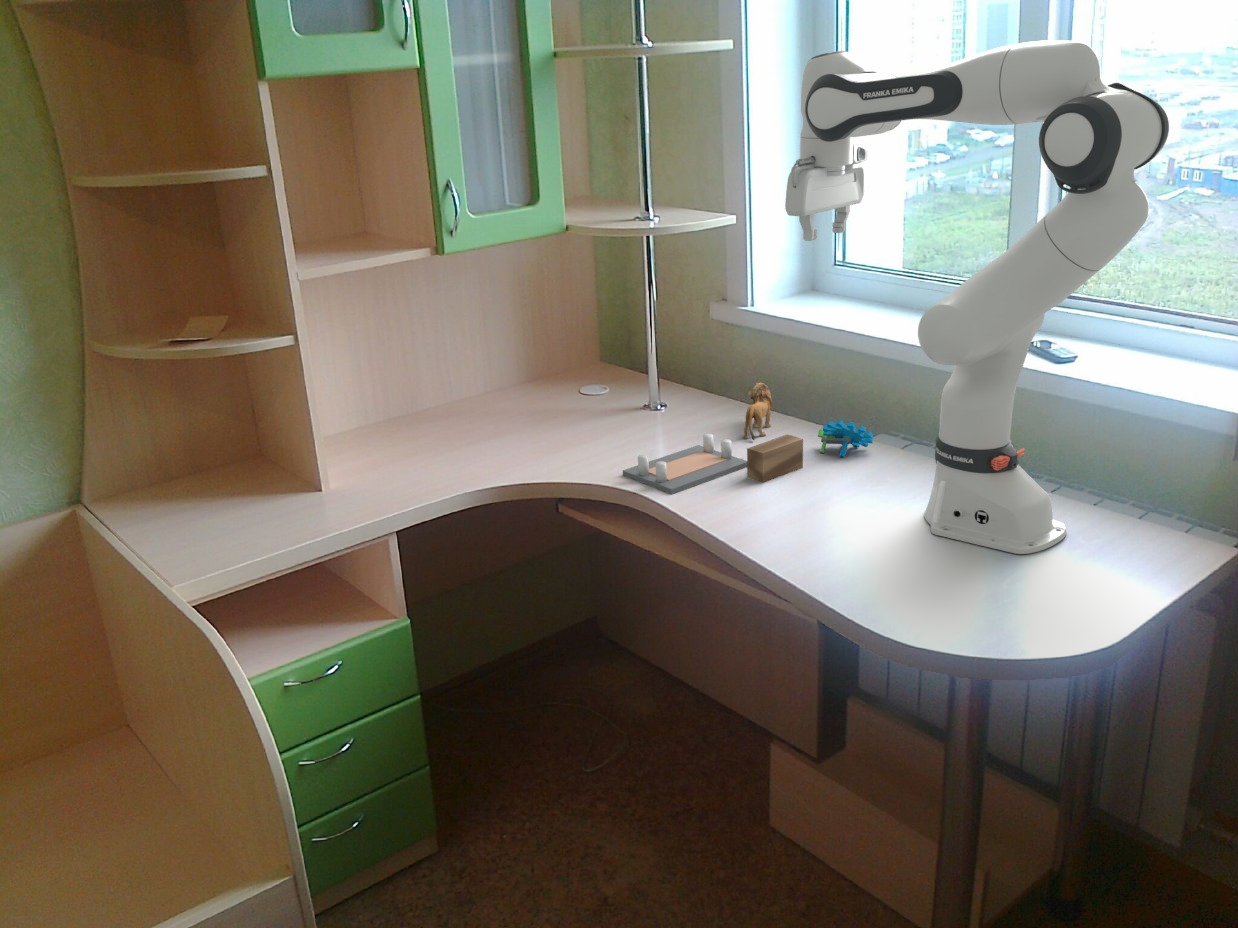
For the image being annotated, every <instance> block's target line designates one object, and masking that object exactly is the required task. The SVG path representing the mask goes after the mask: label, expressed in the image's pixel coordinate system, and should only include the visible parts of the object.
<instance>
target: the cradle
mask: <svg viewBox="0 0 1238 928" xmlns="http://www.w3.org/2000/svg"><path fill="white" fill-rule="evenodd" d="M702 440H703V442H702V443H703V444H702V445H700V444H698V445H693V446H691V447H688V448H685V449H681V450H680V451H677V452H673V453H671V454H667V455H664V456H662V457H659V458H655V459H652V460H650V459H649V457H650V456H649V455H647V454H641V455H638V456H637V465H635V466H632V467H629V468H626V469H623V470H622V476H623V477H626V478H628V479H631V480H634V481H636V482H639V483H642V484H644V485H646V486H649V487H652V488H655V489H658V490H659V491H663V492H666V493H668V494H670V495H674V494H676V493H680V492H683V491H685V490H688V489H690V488H693V487H696V486H698V485H702V484H704V483H706V482H710V481H712V480H715V479H717V478H721V477H723V476H725V475H729V474H731V473H734V472H736V471H739V470H743V469H745V468H747V459H743V458H741V457H740V458H739V457H736V456H732V455H733V454H732V453H733V452H732V440H731V439H729V438H728V439H727V438H726V439H721V441H720V451H718V450H715V449H714V447H715V446H714V434H712V433H704V434H703V435H702Z"/></svg>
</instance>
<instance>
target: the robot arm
mask: <svg viewBox="0 0 1238 928" xmlns="http://www.w3.org/2000/svg"><path fill="white" fill-rule="evenodd" d="M1101 71H1102V69H1101V64H1100V59H1099V57H1098V55H1097V53H1096V52H1095V50H1094V49H1093V48H1092V47H1091V46H1089V44H1086V43H1085V42H1082V41H1077V40H1076V41H1075V40H1061V39H1060V40H1053V39H1052V40H1037V41H1028V42H1027V41H1026V42H1019V43H1013V44H1008V45H1003V46H1000V47H996V48H992V49H990V50H986V51H983V52H979V53H977V54H974V55H971V56H968V57H966V58H963V59H959V60H956V61H954V62H950V63H948V64H945V65H942V66H938V67H935V68H933V69H929V70H926V71H923V72H919V73H916V74H910V75H903V76H896V75H894V74H890V73H886V72H884V71H880V70H877V69H875V68H872V67H870V66H868V65H866V64H864V63H862V62H861V61H859V60H858V59H857V58H856V56H854V54H853V53H851V52H849V51H846V50H845V51H843V50H840V51H837V50H836V51H832V52H825V53H821V54H818V55H816V56H815V55H814V57H811V58H810V59H809V60H807V62H806V64H805V66H804V69H803V74H802V79H801V80H802V81H801V82H802V83H801V92H800V93H801V94H800V112H801V115H802V128H801V131H800V142H799V143H800V145H799V146H800V148H799V152H800V154H799V155H800V156H799V157H800V158H798V159H796V160H795V162H794V164H793V166H792V167H791V170H790V172H789V174H788V177H787V183H786V191H785V204H784V206H785V208H784V209H785V212H786V214H787V215H788V216H790V217H799V219H798V220H799V221H798V222H799V223H800V225H801V229H802V230H803V231H802V232H803V234H802V235H803V238H802V239H803V240H804V241H805V242H806V241H807V242H813V241H815V240H816V239H817V237H818V236H817V234H818V230H817V229H815V226H814V222H813V221H815V214H820V213H823V212H828V211H831V210H835V212H836V215H835V219H834V221H833V222H832V233H834V234H841V233H844V232H845V231H846V222H847V220H848V217H849V215H850V212H851V206H853V205H857V204H860V203H862V200H863V198H864V194H865V187H866V165H865V163H864V162H865V161H867V159H868V149H867V148H866V147H864V146H862V145H860V144H858V143H857V142H856V141H854V138H857V137H864V136H865V137H867V136H873V135H881V134H884V133H886V132H890V131H891V130H893V129H895V128H897V127H898V126H899V125H900V123H901V122H902V121H909V120H932V121H933V120H934V121H935V120H936V121H945V122H955V123H957V122H958V123H967V124H976V125H989V126H1009V125H1011V126H1012V125H1020V124H1021V125H1022V124H1030V123H1038V122H1039V123H1040V122H1042V123H1043V124H1042V125H1041V127H1040V132H1039V136H1038V146H1039V147H1038V148H1039V152H1040V155H1041V157H1042V160H1043V161H1044V163H1045V165H1046V167H1047V168H1048V169H1049V171H1050V172H1051V173H1052V175H1053V177H1054V180H1055V182H1056V184H1057V186H1058V187H1059V189H1060V190H1063V191H1064V192H1067V193H1066V195H1065V196H1064V197H1063V198H1062V199H1061V201H1059V202H1058V203H1057V204H1056V205H1055V206H1054V207H1053V208H1051V210H1050V211H1048V213H1046V214H1045V215H1044V216H1043V217H1042V218H1041V219H1040V220H1039V221H1038V222H1036V223H1035V224H1034V225H1033V226H1032V227H1031V228H1030V229H1029V230H1028V231H1027V232H1025V234H1023V236H1022V237H1020V238H1019V239H1018V240H1017V241H1016V242H1015V243H1014V244H1013V245H1012V246H1011V247H1009V248H1008V249H1007V250H1005V251H1004V252H1002V254H1001V255H999V256H998V257H996V258H995V259H994V260H992V261H991V262H989V263H988V264H986V265H985V266H984V267H982V268H981V269H980V270H978V271H977V272H975V273H974V274H972V275H971V276H970V277H968V279H966V280H965V281H963V282H962V283H961V284H960V285H959V286H958V287H956V288H954V290H952V291H951V292H950V293H949V294H948V295H946V296H945V297H944V298H942V299H940V300H939V301H937V302H936V303H935V304H934V305H932V306H930V307H929V308H928V309H927V310H926V311H925V312H924V313H923V314H922V316H921V318H920V320H919V323H918V327H917V337H918V342H919V345H920V348H921V349H922V351H923V353H924V354H925V356H927V357H928V358H929V360H932V361H933V362H934V363H936V364H938V365H941V366H942V365H943V366H954V369H953V370H952V373H951V375H950V377H949V379H947V381H946V383H945V385H944V387H943V389H942V391H941V396H940V397H941V398H940V415H939V431H938V434H937V436H936V439H935V448H934V449H935V450H934V451H935V452H934V459H935V465H936V466H935V471H934V478H933V479H934V480H933V484H932V488H931V493H930V495H929V496H930V497H929V500H928V503H927V505H926V508H925V510H924V513H923V516H924V519H925V521H926V522H927V524H929V525H930V532H931V533H932V534H933V535H935V536H940V537H944V538H949V539H953V540H957V541H961V542H965V543H969V544H973V545H978V546H982V547H986V548H991V549H995V550H999V551H1002V552H1003V551H1004V552H1007V553H1012V554H1016V555H1025V554H1027V555H1029V554H1034V553H1038V552H1041V551H1045V550H1047V549H1049V548H1051V547H1052V546H1055V545H1056V544H1058V543H1060V542H1061V541H1062V540H1063V539H1064V538H1065V537H1066V535H1067V526H1066V524H1065V523H1063V522H1061V521H1059V520H1056V519H1055V518H1054V517H1053V515H1054V514H1053V506H1052V499H1051V496H1050V495H1049V493H1048V492H1047V491H1046V490H1045V489H1043V488H1042V487H1041V486H1040V484H1039V483H1038V482H1036V481H1035V480H1034V479H1033V478H1032V477H1031V476H1030V475H1029V474H1028V472H1026V471H1025V469H1023V468H1022V467H1021V465H1020V462H1019V459H1018V458H1019V457H1021V456H1023V455H1025V452H1024V451H1025V450H1026V448H1025V447H1022V448H1020V449H1018V450H1016V448H1015V445H1014V442H1013V440H1012V439H1011V432H1012V421H1013V420H1012V419H1013V410H1014V402H1015V397H1016V396H1015V395H1016V390H1017V388H1018V387H1017V386H1018V383H1019V379H1020V376H1021V373H1022V370H1023V366H1024V364H1025V361H1026V358H1027V354H1028V351H1029V349H1030V346H1031V344H1032V341H1033V340H1034V337H1035V336H1036V335H1037V332H1038V331H1039V329H1040V328H1041V327H1042V325H1043V322H1044V320H1045V314H1046V313H1047V312H1048V311H1050V310H1052V309H1054V308H1055V307H1057V306H1058V305H1060V304H1061V303H1062V302H1064V301H1065V300H1066V299H1067V298H1068V297H1070V296H1071V295H1072V294H1073V293H1074V292H1075V291H1077V290H1078V289H1079V288H1080V287H1082V285H1084V284H1085V283H1086V282H1087V281H1089V280H1090V279H1091V278H1092V277H1094V275H1096V274H1097V273H1098V272H1099V271H1101V270H1102V269H1104V267H1105V266H1107V264H1108V263H1110V262H1112V260H1113V259H1114V258H1115V257H1116V256H1117V255H1119V253H1120V252H1121V251H1122V250H1123V249H1124V248H1125V247H1126V246H1127V245H1128V244H1129V243H1130V242H1131V241H1132V239H1133V238H1134V237H1135V236H1136V235H1137V233H1138V232H1139V231H1140V230H1141V229H1142V227H1143V226H1144V225H1145V224H1146V222H1147V219H1148V217H1149V213H1150V204H1149V201H1148V198H1147V194H1146V193H1145V192H1144V190H1143V188H1142V187H1141V186H1140V185H1139V184H1138V183H1137V180H1136V177H1135V170H1138V169H1140V168H1141V167H1143V166H1145V165H1147V164H1149V163H1150V162H1151V161H1152V160H1153V159H1154V158H1156V157H1157V155H1159V154H1160V153H1161V151H1162V149H1163V148H1164V147H1165V144H1166V142H1167V140H1168V137H1169V134H1170V133H1169V131H1170V123H1169V122H1170V121H1169V117H1168V115H1167V112H1166V111H1165V110H1164V108H1163V107H1162V106H1161V105H1160V103H1158V102H1157V101H1156V100H1154V99H1153V98H1151V97H1149V96H1147V95H1146V94H1143V93H1141V92H1139V91H1136V90H1134V89H1132V88H1130V87H1128V86H1125V85H1124V84H1122V83H1120V82H1113V83H1111V84H1108V85H1106V84H1105V83H1104V82H1103V79H1102V76H1101V75H1102V73H1101ZM1064 185H1065V186H1066V187H1065V186H1064ZM1067 187H1069V188H1067Z"/></svg>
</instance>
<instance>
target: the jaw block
mask: <svg viewBox="0 0 1238 928" xmlns="http://www.w3.org/2000/svg"><path fill="white" fill-rule="evenodd" d="M746 450H747V451H746V457H747V458H746V461H747V467H746V469H747V471H746V472H747V473H746V476H747V477H746V478H747V479H748V480H749V479H750V480H752V481H756V482H758V483H761V484H764V483H768V482H769V481H772V480H775V479H778V478H779V477H783V476H785V475H789V474H791V473H793V472H795V471H799V470H801V469H803V468H804V465H803V463H804V439H803V438H801V437H797V436H794V435H792V434H791V435H790V434H784V435H782V436H779V437H776V438H773V439H770V440H767V441H765V442H761V443H757V444H756V445H752V446H751V447H747V448H746Z"/></svg>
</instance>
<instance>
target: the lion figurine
mask: <svg viewBox="0 0 1238 928" xmlns="http://www.w3.org/2000/svg"><path fill="white" fill-rule="evenodd" d="M747 394H748V397H750V400H751V401H753V402H752V403H753V404H750V405H749V406H748V407H747V409H746V414H745V423H744V429H743V439H749V438H750V436H751V440H752V441H755V440H756V437H755V435H754V433H753V428H757V431H758V434H759V436H760V437H761V436H762V437H764V436H766V433H765V431H763V429H762V427H763V421H764V420H763V419H764V418H765V422H764V426H765V427H766V428H771V427H772V424H770V421H771V409H772V407H773V398H772V394H771V391H770V389H769V387H768V385H766V383H763V382H756V383H755V385H754V386H753V388H752V389H751V390H750V391H748V393H747ZM753 421H754V422H753ZM752 422H753V424H752ZM748 432H749V433H748ZM749 434H750V435H749Z"/></svg>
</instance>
